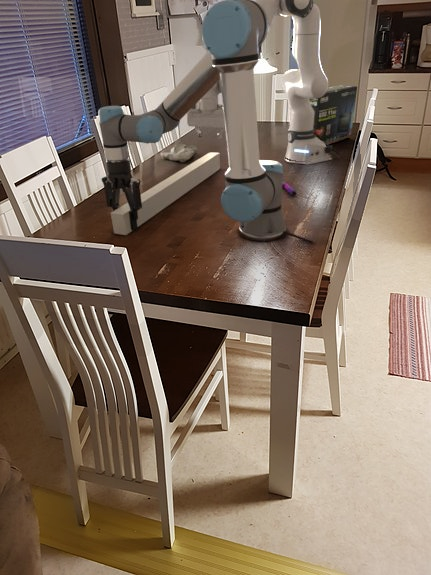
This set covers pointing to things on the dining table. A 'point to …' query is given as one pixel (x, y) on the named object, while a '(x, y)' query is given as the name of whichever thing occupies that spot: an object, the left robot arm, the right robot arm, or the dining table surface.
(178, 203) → the dining table surface
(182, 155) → the fossil
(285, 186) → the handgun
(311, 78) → the right robot arm
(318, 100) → the router box
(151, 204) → the post
